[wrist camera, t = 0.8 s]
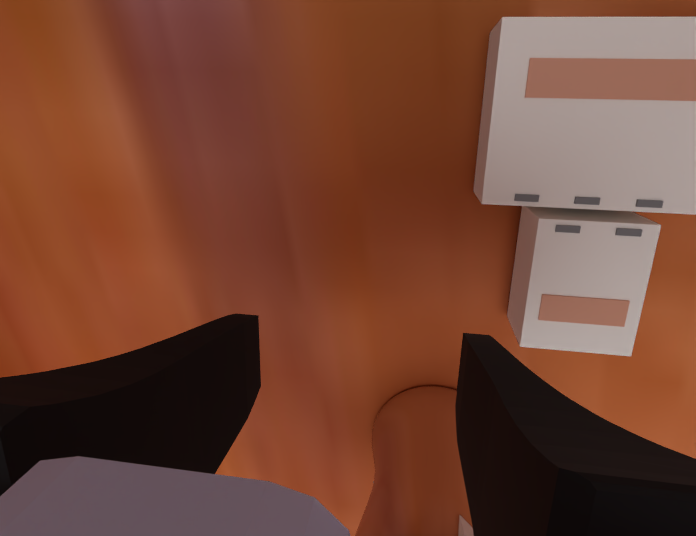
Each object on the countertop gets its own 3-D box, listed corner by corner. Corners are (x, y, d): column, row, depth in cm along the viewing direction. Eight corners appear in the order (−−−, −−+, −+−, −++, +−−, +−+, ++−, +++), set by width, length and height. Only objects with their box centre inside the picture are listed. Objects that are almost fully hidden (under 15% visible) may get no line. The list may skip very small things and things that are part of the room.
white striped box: (881, 33, 16) (981, 15, 13) (823, 207, 18) (900, 225, 15) (489, 32, 18) (502, 16, 15) (473, 191, 20) (482, 204, 17)
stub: (625, 208, 19) (662, 225, 16) (602, 323, 21) (632, 357, 18) (522, 203, 20) (539, 219, 17) (507, 315, 21) (520, 347, 18)
